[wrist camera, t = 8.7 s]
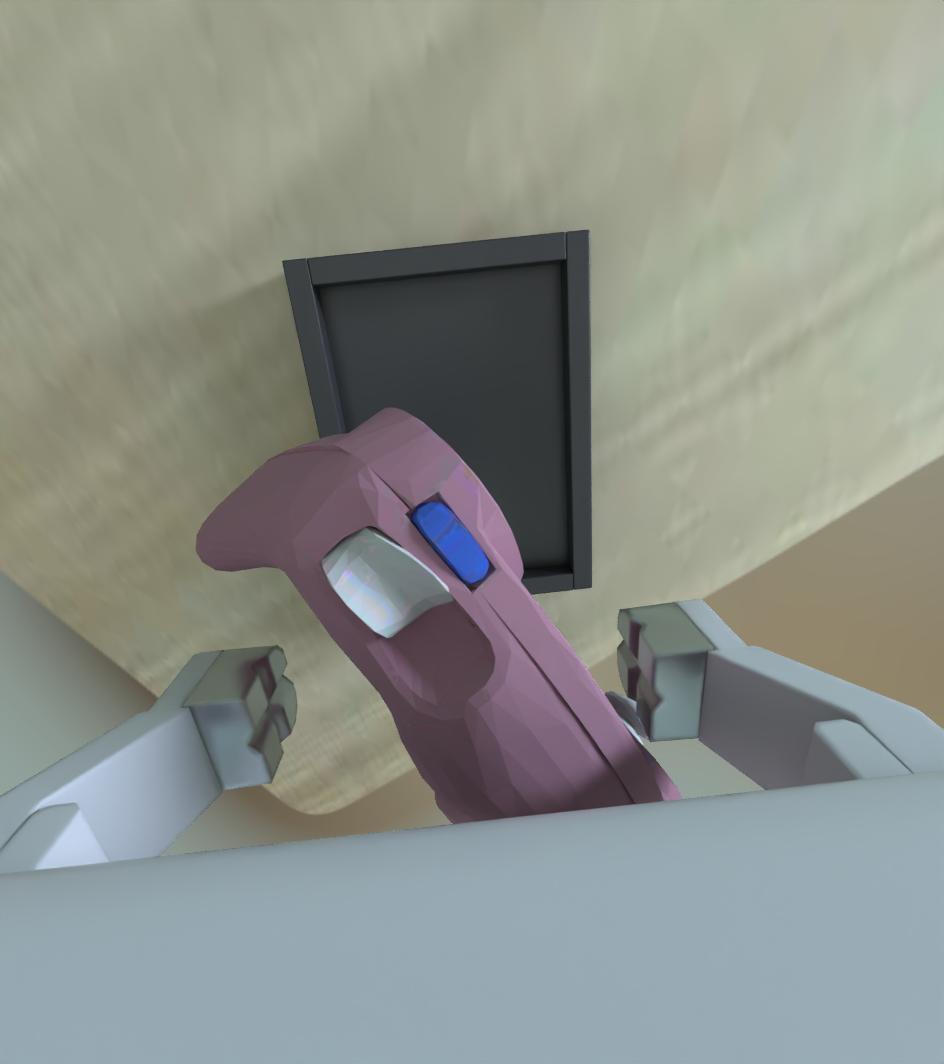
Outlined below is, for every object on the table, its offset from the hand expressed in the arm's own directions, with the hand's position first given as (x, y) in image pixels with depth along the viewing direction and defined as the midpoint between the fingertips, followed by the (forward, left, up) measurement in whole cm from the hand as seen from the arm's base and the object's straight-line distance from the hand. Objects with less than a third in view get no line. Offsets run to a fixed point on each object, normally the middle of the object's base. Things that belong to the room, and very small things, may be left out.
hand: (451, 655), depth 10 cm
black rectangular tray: (+1, +1, -17) cm, 17 cm away
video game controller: (0, 0, -3) cm, 3 cm away
